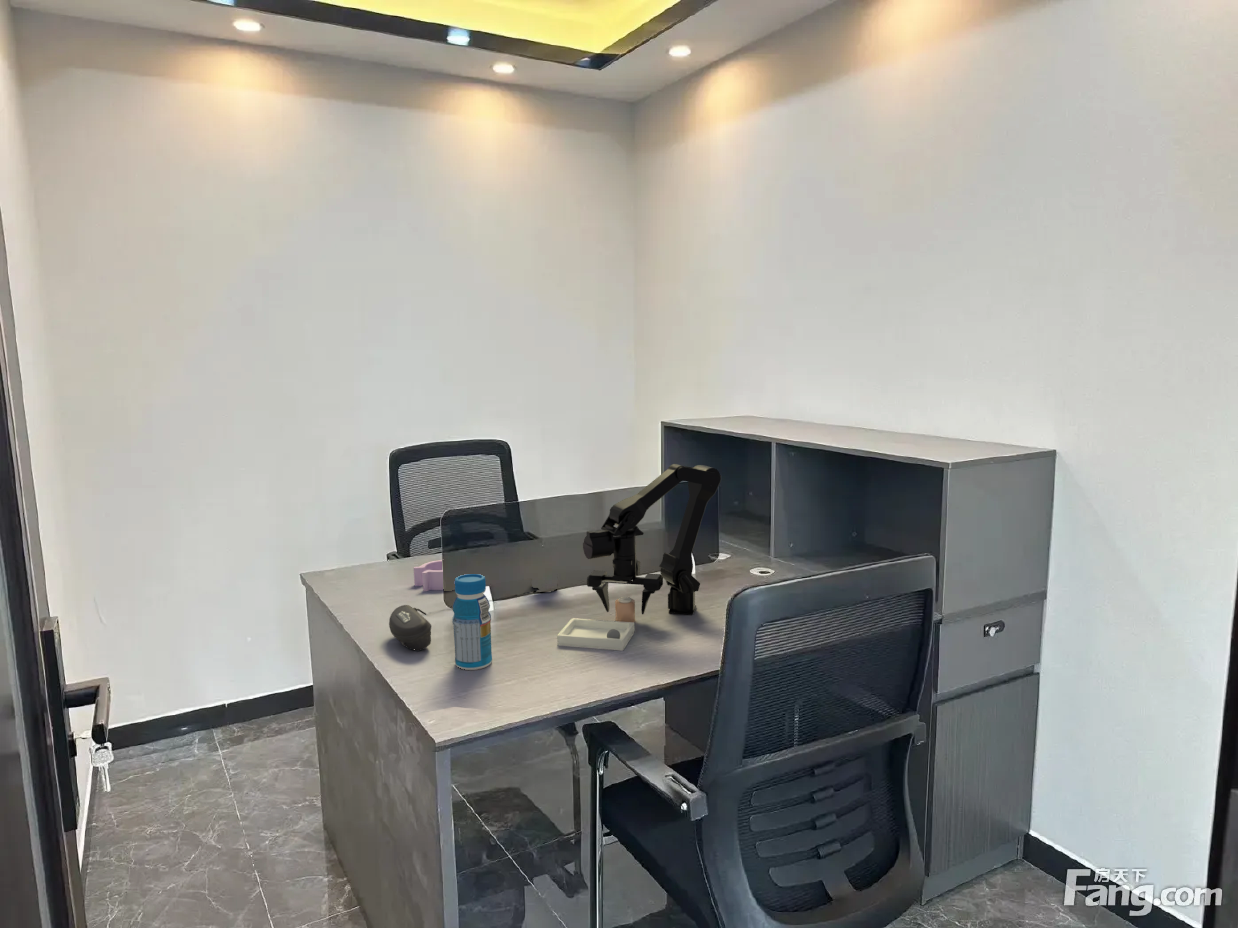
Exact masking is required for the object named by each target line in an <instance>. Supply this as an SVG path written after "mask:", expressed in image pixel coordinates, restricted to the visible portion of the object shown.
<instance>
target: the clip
mask: <svg viewBox="0 0 1238 928" xmlns="http://www.w3.org/2000/svg"><path fill="white" fill-rule="evenodd" d="M442 560H443V559H439V560H432V561H428V562H425V563H423V564H421V565H420V566H413V583H414V584H413V585H414V586H415V587H419V586H420V587H421V586H422V591H423V592H428V591H430V590H431V591H443V570H442Z"/></svg>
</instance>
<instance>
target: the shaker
mask: <svg viewBox="0 0 1238 928" xmlns="http://www.w3.org/2000/svg"><path fill="white" fill-rule="evenodd" d="M614 604H615V607H614V610H615V621H621V622H634V624H635V622H636V601H635V599H633V598H632V597H631V596H620V597H619V598H617V599H615V600H614Z"/></svg>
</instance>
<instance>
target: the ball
mask: <svg viewBox="0 0 1238 928" xmlns="http://www.w3.org/2000/svg"><path fill="white" fill-rule="evenodd" d="M607 638H615V639H620V633H619V631H618V630H616V629H611V630H609V631H608V633H607Z"/></svg>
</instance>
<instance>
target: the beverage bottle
mask: <svg viewBox="0 0 1238 928" xmlns="http://www.w3.org/2000/svg"><path fill="white" fill-rule="evenodd" d="M486 582H487V580H486V576H483V575H481V574H464V575H460V576H458V577H456V578H455V581H454V584H455V588H454V592H455V594H456V598H454V601H453V603H452V607H451V608H452V609H451V611H452V612H453V616H452V621H451V622H452V625H453V638H454V642H453V643H454V663H455V666H456V667H457V668H458V667H459V668H458V669H460V668H461V670H464V669H465V670H464V671H477V670H481V669H484V668H487V667H488V666H490V665H491V664H492V662H493V654H492V630H491V629H492V627H491V623H492V615H491V612H490V611H489V610H490V608H491V605H490V601H489V600H488V599H489V598H487V596H486V594H485V592H486V589H487V585H486Z"/></svg>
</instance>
